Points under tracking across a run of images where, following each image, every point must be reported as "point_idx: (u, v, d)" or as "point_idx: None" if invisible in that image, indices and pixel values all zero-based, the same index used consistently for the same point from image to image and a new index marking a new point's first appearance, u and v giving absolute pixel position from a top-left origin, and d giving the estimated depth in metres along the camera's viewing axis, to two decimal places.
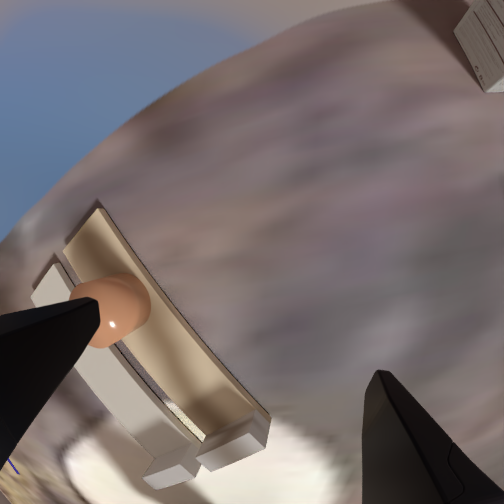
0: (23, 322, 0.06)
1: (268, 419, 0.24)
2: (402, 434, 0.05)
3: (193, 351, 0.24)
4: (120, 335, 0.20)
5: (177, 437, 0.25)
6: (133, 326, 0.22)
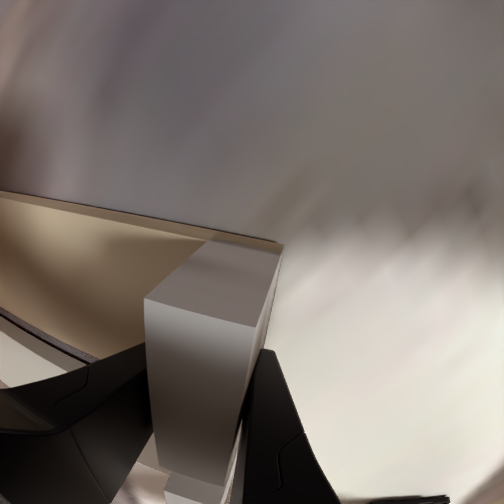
0: (125, 372, 0.06)
1: (270, 249, 0.08)
2: None
3: (35, 223, 0.10)
4: None
5: None
6: None
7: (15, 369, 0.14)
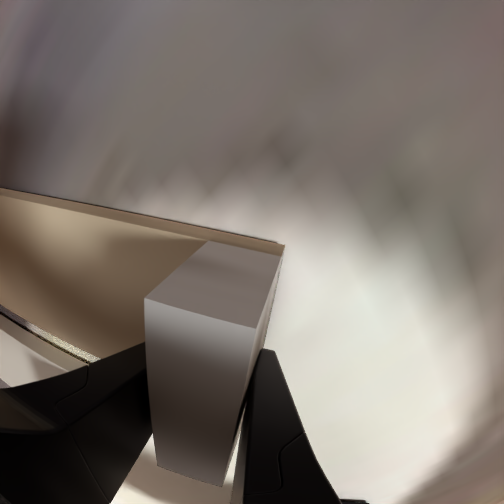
0: (124, 371, 0.06)
1: (271, 250, 0.08)
2: (249, 412, 0.06)
3: (35, 221, 0.10)
4: None
5: None
6: None
7: None
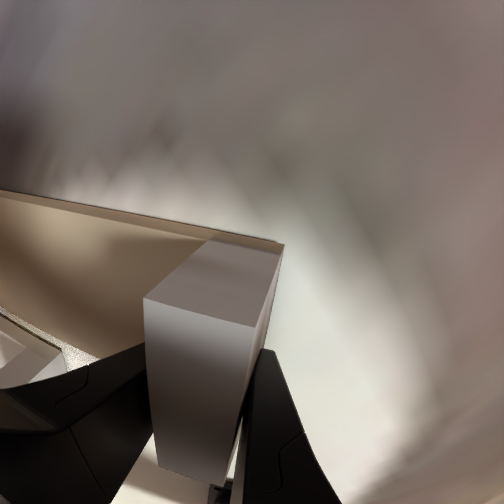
0: (125, 372, 0.06)
1: (270, 249, 0.08)
2: (248, 412, 0.06)
3: (35, 223, 0.10)
4: None
5: (18, 352, 0.13)
6: None
7: None
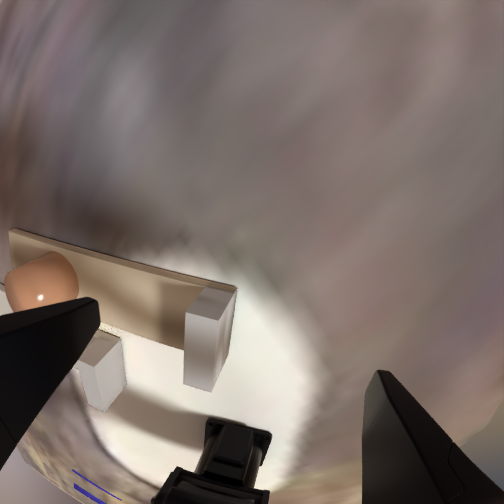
0: (23, 322, 0.06)
1: (230, 290, 0.21)
2: (402, 434, 0.05)
3: (117, 273, 0.22)
4: (42, 299, 0.19)
5: None
6: (56, 287, 0.21)
7: None
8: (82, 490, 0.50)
